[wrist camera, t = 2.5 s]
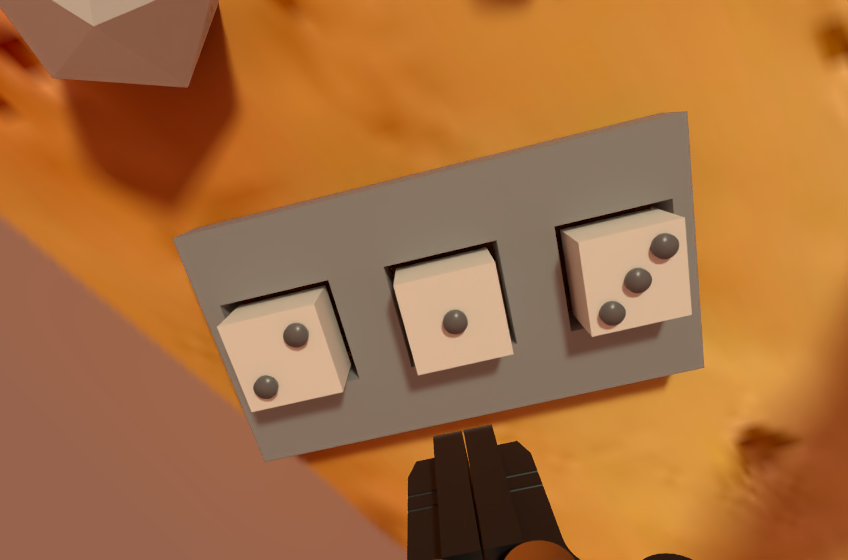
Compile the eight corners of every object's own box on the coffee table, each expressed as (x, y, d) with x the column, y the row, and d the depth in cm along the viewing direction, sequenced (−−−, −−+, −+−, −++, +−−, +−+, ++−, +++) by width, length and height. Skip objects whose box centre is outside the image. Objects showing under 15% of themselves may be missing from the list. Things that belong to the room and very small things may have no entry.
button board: (661, 113, 25) (687, 111, 22) (680, 348, 29) (704, 367, 27) (194, 228, 26) (172, 238, 24) (276, 436, 30) (264, 461, 28)
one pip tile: (486, 247, 25) (496, 263, 22) (503, 330, 27) (514, 356, 24) (396, 268, 26) (392, 287, 22) (417, 349, 27) (417, 378, 24)
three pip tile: (654, 207, 25) (688, 218, 22) (662, 294, 26) (695, 317, 23) (560, 229, 25) (580, 243, 22) (573, 314, 27) (593, 339, 23)
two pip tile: (325, 285, 26) (312, 306, 23) (351, 364, 27) (342, 395, 24) (238, 305, 26) (214, 329, 23) (268, 383, 28) (249, 415, 24)
